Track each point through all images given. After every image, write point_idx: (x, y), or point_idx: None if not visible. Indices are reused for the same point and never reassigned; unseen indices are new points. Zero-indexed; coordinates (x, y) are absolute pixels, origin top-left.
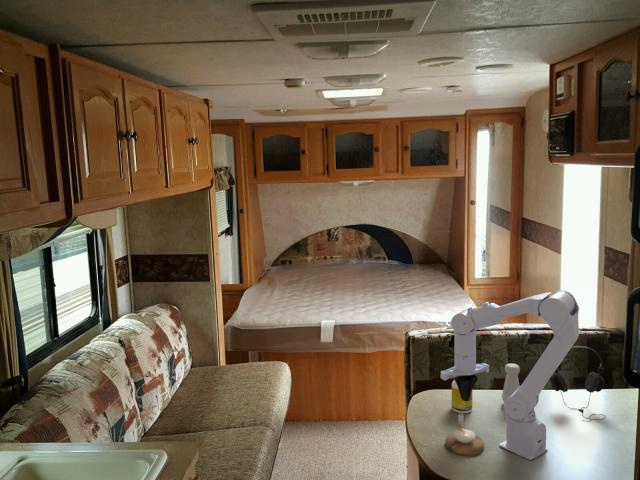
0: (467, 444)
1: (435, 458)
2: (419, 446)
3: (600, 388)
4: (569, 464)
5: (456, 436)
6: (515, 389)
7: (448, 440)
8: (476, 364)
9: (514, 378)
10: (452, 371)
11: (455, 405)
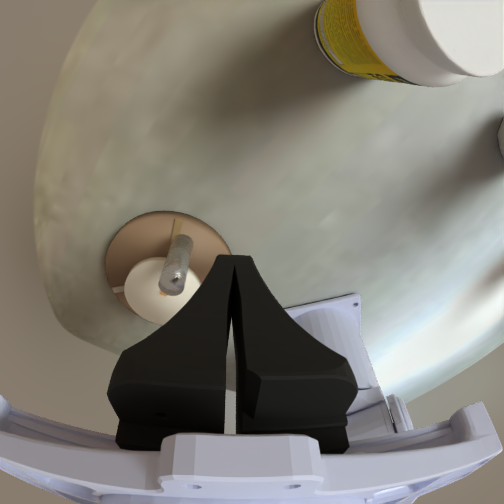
0: None
1: (63, 282)
2: (38, 213)
3: None
4: None
5: (127, 295)
6: None
7: (118, 250)
8: (436, 480)
9: None
10: (62, 488)
11: (322, 33)
